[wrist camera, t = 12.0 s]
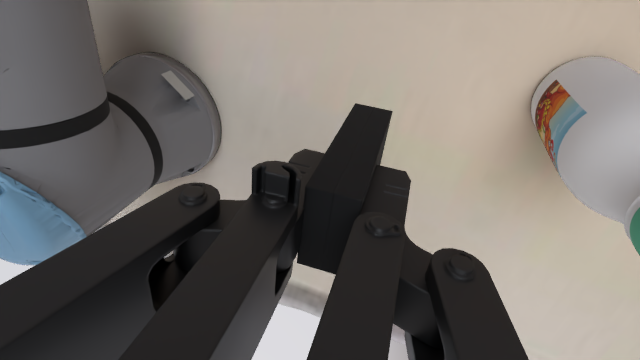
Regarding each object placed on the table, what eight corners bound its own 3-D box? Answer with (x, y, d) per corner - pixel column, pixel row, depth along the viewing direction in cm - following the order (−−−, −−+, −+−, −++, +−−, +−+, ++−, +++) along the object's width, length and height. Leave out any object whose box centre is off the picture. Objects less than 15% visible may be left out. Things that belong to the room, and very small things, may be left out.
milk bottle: (574, 37, 30) (716, 130, 14) (660, 82, 30) (907, 231, 14) (510, 115, 35) (560, 257, 18) (584, 156, 34) (703, 335, 18)
